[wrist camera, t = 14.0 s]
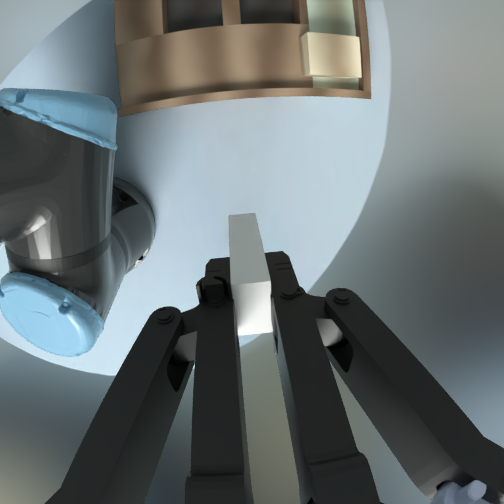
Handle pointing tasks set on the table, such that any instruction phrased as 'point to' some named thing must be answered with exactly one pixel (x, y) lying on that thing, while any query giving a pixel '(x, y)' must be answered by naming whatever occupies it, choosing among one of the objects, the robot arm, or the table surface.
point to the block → (330, 55)
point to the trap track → (228, 50)
